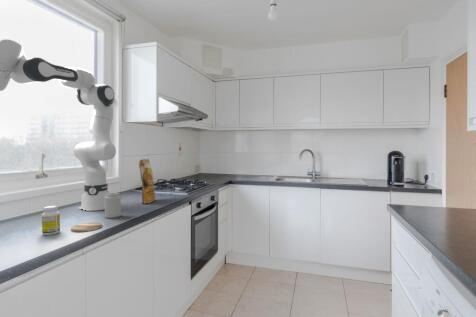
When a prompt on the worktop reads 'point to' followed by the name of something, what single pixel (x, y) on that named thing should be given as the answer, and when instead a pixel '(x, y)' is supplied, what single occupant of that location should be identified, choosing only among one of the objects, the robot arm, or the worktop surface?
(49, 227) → the pill bottle
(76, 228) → the coaster
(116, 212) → the can
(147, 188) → the pancake mix bag
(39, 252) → the worktop surface
